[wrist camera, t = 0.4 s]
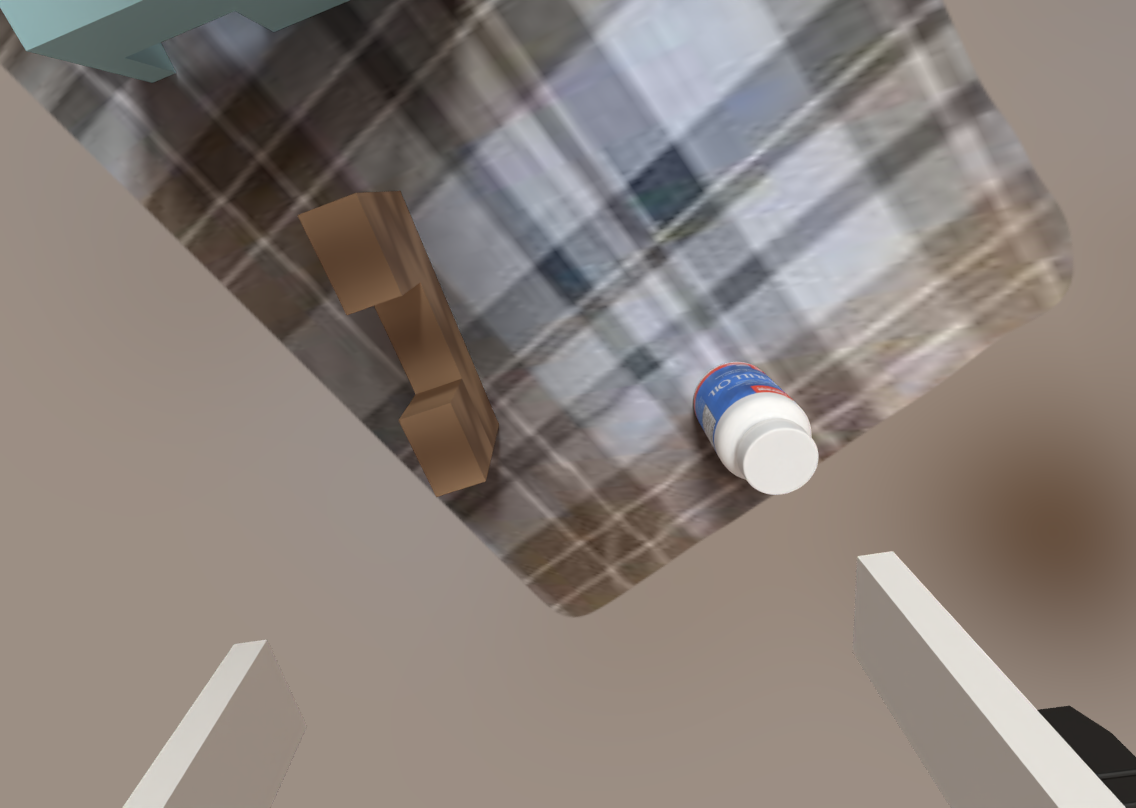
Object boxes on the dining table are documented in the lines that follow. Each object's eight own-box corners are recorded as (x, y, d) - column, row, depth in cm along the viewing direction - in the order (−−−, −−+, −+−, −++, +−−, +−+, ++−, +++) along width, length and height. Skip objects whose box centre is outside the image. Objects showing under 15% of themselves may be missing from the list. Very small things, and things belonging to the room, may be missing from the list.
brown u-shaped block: (354, 208, 34) (297, 215, 26) (400, 190, 33) (355, 193, 26) (458, 437, 39) (436, 497, 32) (499, 424, 39) (485, 481, 32)
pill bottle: (765, 351, 38) (832, 404, 29) (774, 423, 40) (839, 494, 30) (684, 370, 38) (724, 429, 29) (697, 440, 40) (739, 516, 31)
